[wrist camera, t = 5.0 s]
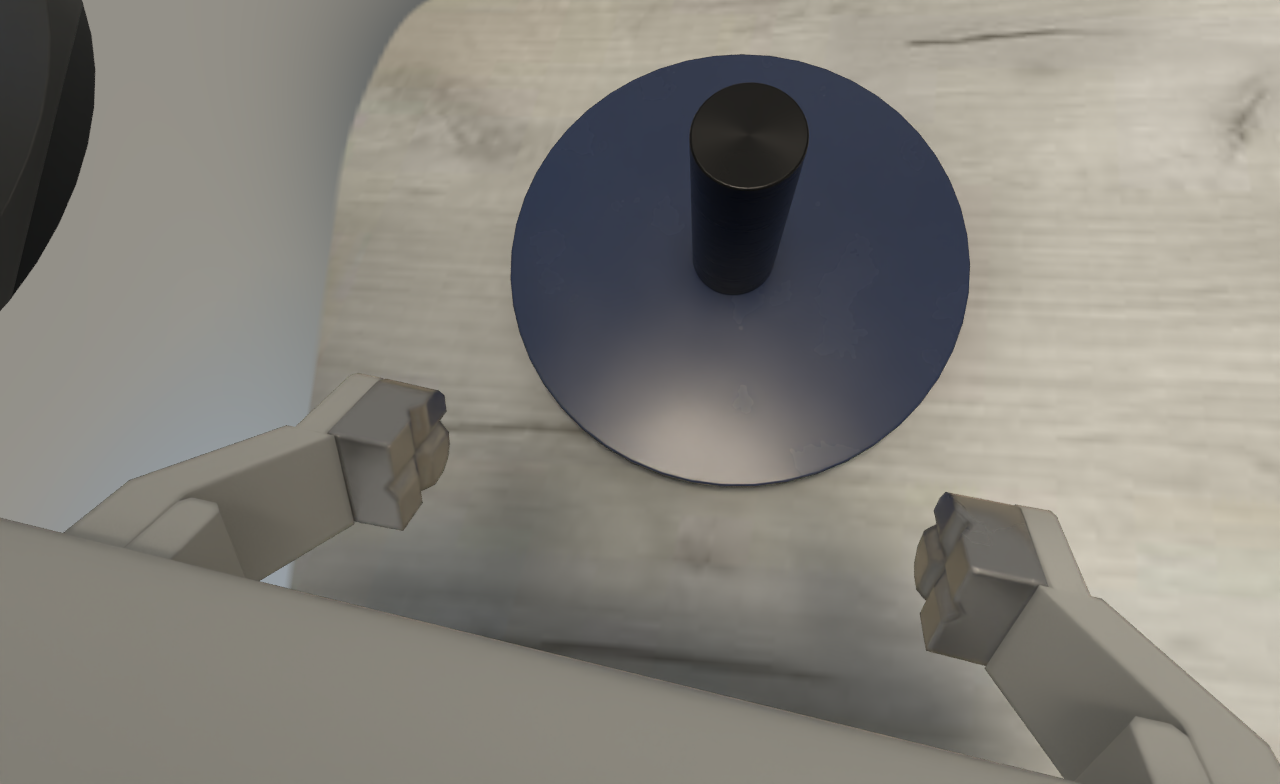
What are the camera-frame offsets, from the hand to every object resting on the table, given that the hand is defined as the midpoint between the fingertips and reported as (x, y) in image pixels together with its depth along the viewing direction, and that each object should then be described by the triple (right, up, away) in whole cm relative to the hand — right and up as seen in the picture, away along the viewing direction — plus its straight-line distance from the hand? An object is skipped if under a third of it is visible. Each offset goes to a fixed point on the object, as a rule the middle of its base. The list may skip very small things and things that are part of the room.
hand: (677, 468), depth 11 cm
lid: (+2, +6, +11) cm, 13 cm away
